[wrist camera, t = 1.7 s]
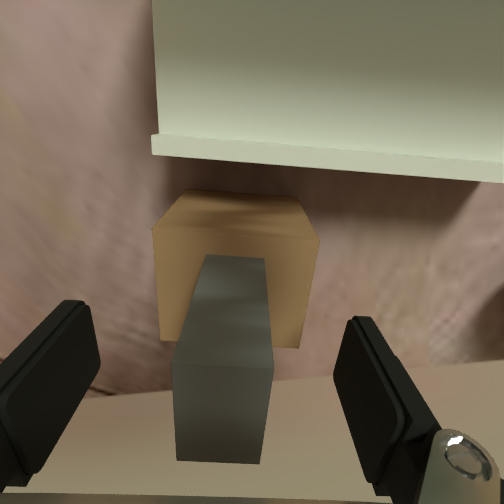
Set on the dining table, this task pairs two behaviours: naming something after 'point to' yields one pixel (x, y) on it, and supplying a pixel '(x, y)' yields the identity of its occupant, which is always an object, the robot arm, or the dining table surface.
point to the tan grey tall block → (229, 312)
